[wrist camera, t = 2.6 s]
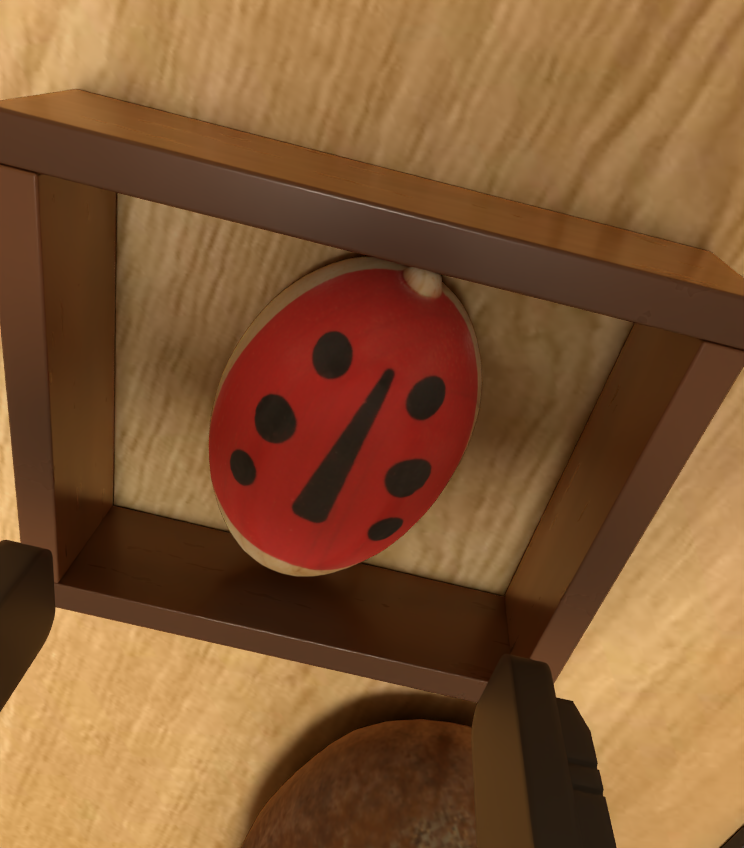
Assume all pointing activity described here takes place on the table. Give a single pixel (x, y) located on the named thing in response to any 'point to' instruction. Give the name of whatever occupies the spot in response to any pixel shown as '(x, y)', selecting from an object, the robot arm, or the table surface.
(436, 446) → the ladybug figurine
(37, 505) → the wooden frame
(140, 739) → the table surface
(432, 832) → the bread
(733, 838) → the mat
